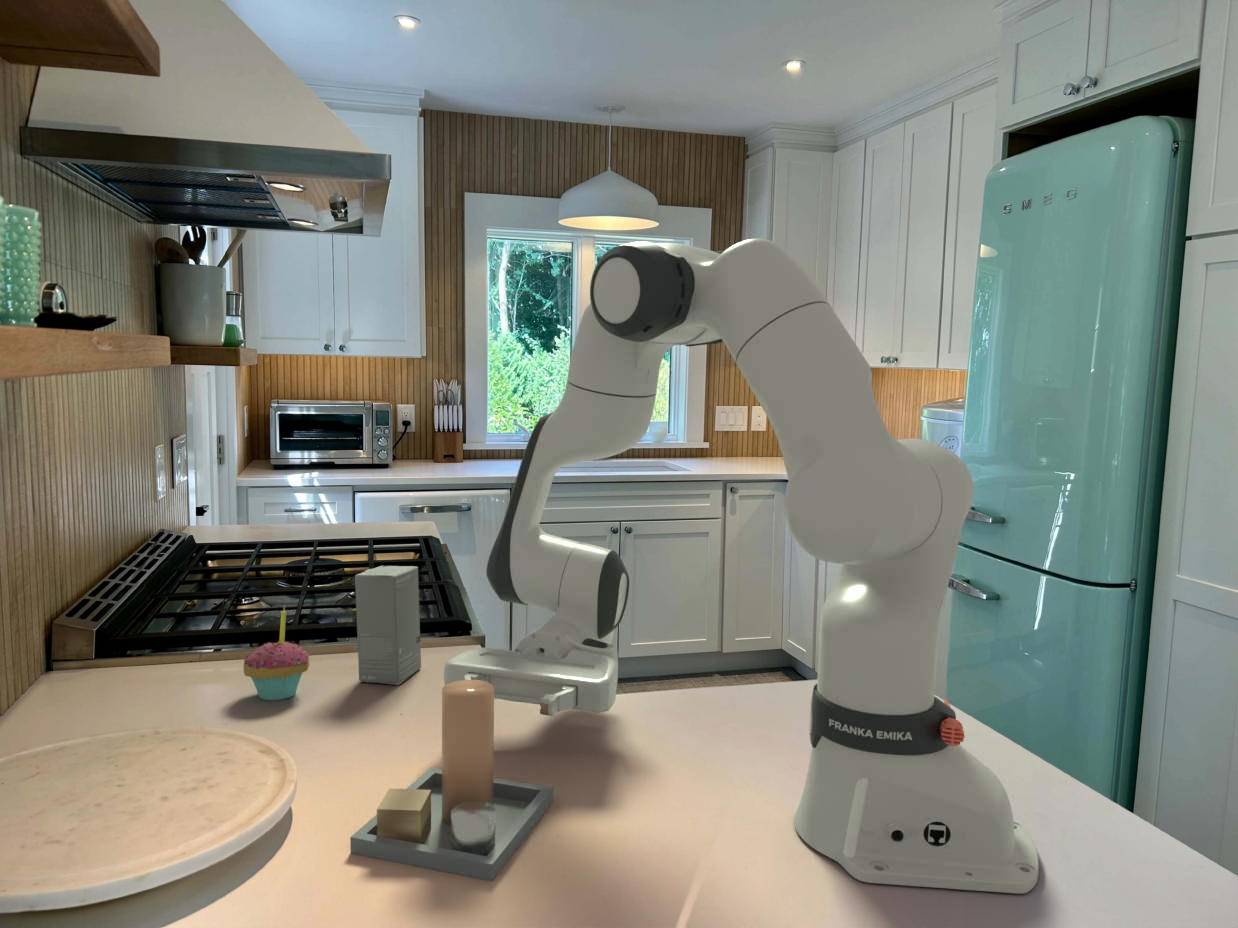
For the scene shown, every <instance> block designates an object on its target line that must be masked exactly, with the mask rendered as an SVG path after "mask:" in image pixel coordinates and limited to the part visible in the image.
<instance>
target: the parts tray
mask: <svg viewBox="0 0 1238 928" xmlns="http://www.w3.org/2000/svg"><path fill="white" fill-rule="evenodd" d="M406 789H419V790H431V831H430V833H429V835H428V838H427V840H426V842H425V844H418V843H413V842H408V841H403V840H397V839H392V838H387V837H382V836H377V814H375V815H374V816H373V817H372V818H371V819H370V820H368V821H367V822H366V823H365V824H364V825H363V826H362V827H360V828H359V829H358V830H357V831H356V832H354V833H353V834H352V835H351V836H350V837H349V838H350V839H349V840H350V854H351V855H356V856H357V855H358V856H360V857H361V856H362V857H367V858H373V859H377V860H383V861H387V862H390V863H391V862H392V863H397V864H401V865H407V866H413V867H418V868H422V869H428V870H434V871H437V872H441V873H442V872H444V873H448V874H452V875H458V876H463V877H468V878H471V879H479V880H482V881H488V882H493V881H494V879H496V877H497V876H498V875H499V873H500V872H501V871H502V870H503V868H504V866H505V865H506V864H507V863H508V862H509V860H510V859H511V857H513V855H514V854H515V853H516V851H517V850H518V849H519V847H520V846H521V845H522V843H523V842H524V841H525V839H526V838H527V837H529V835H530V833H531V832H532V830H533V829H534V828H535V827H536V825H537V824H538V823H539V821H540V820H541V819H542V817H543V816H544V815H545V813H547V811H548V810H549V809H550V808H551V806H552V804H553V803H554V799H555V797H554V796H555V795H554V793H555V791H554V787H553V786H547V785H542V784H541V785H540V784H536V783H530V782H529V783H528V782H524V781H516V780H510V779H504V778H498V777H493V806H494V807H495V847H494V848H493V849H492V850H491V852H490V853H489V854H488V855H487V856H482V855H476V854H471V853H466V852H460V851H455V850H451V827H450V826H448V825H446V824H445V823H444V822H443V820H442V768H437V767H436V768H435V767H430V768H429V769H428V770H426V771H425V772H424V773H422V774H421V775H420V776H419V777H418V778H417V779H415V780H414V781H413V782H412V783H411V784H410V785H408V787H407V788H406Z"/></svg>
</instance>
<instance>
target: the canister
mask: <svg viewBox="0 0 1238 928" xmlns="http://www.w3.org/2000/svg"><path fill="white" fill-rule="evenodd" d="M441 695H442V696H441V769H442V820H443V822H444V823H445V824H446V825H448V826H450V827H451V810H452V809H453V808H454V807H455V806H456V805H458V804H460V803H463V802H468V801H484V802H487V803H490V804H492V805H493V778H494V777H495V776H494V770H495V769H494V768H495V767H494V762H495V759H494V757H495V755H494V751H495V750H494V748H495V746H494V745H495V744H494V743H495V739H494V738H495V698H494V686H493V685H492V684H491V683H489V682H486V681H481V680H460V681H455V682H451V683H449V684H447V685H445V684H444V686H443V687H442V688H441Z"/></svg>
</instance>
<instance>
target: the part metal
mask: <svg viewBox="0 0 1238 928" xmlns="http://www.w3.org/2000/svg"><path fill="white" fill-rule="evenodd" d="M494 847H495V807H494V806H493V805H492V804H490V803H487V802H484V801H468V802H463V803H460V804H458V805H456V806H455V807H454V808H453V809H452V810H451V850H455V851H460V852H466V853H471V854H476V855H482V856H487V855H488V854H489V853H490V852H491V850H492V849H493V848H494Z"/></svg>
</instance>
